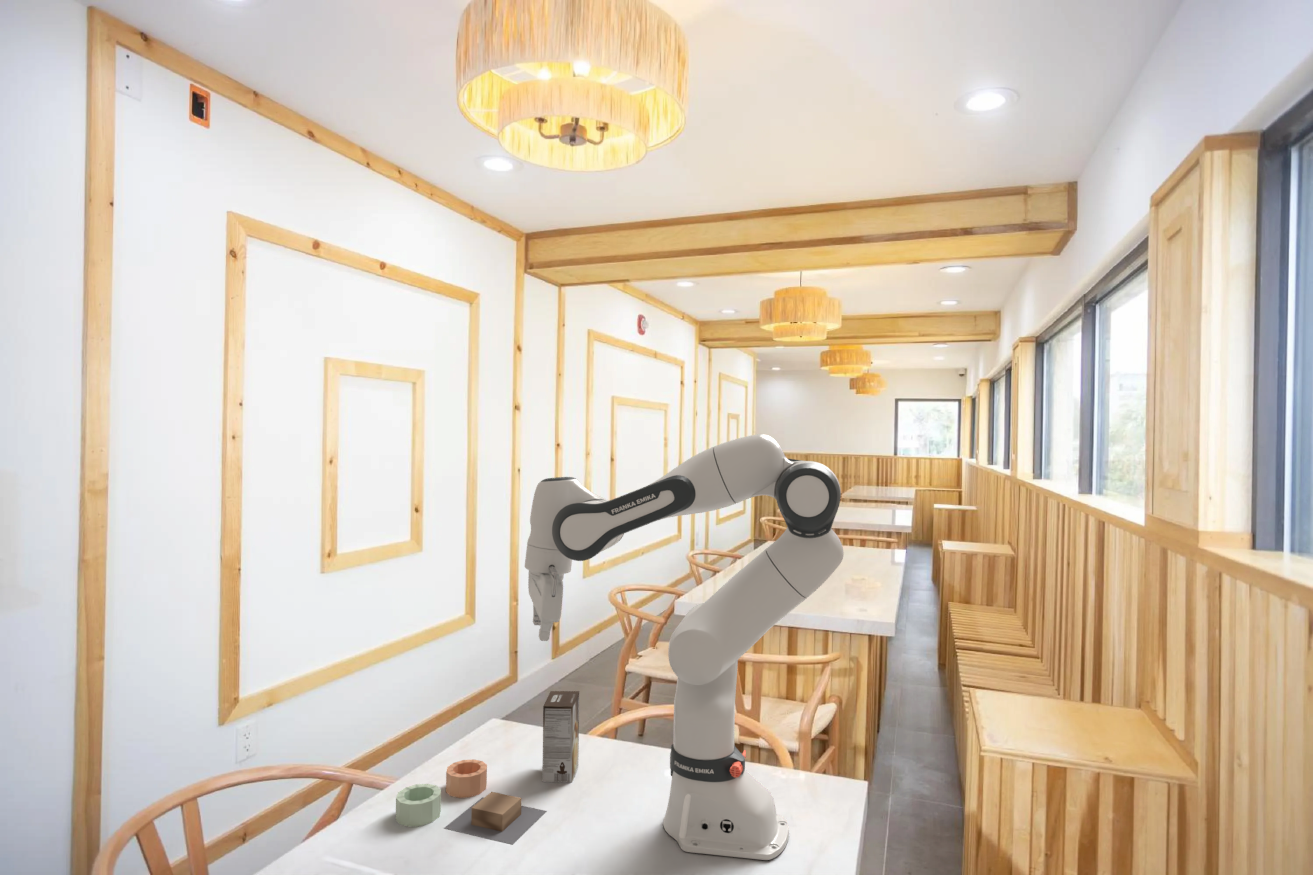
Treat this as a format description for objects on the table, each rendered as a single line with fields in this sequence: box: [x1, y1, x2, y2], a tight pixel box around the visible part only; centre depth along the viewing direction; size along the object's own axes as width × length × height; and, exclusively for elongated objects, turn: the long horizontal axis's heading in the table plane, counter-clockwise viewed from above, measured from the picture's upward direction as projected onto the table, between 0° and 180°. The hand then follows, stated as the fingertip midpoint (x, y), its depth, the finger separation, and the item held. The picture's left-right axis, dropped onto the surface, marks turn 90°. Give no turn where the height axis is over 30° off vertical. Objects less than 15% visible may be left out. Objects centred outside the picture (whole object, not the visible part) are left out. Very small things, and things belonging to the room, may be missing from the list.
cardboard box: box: [471, 791, 522, 832], centre depth 132 cm, size 6×6×3 cm
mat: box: [443, 796, 548, 845], centre depth 132 cm, size 14×12×1 cm
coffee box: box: [541, 690, 580, 784], centre depth 151 cm, size 9×6×16 cm
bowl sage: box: [395, 783, 442, 828], centre depth 133 cm, size 8×8×4 cm
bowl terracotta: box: [445, 759, 488, 799], centre depth 143 cm, size 8×8×4 cm
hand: (540, 631), depth 139 cm, fingers open, 8 cm apart
